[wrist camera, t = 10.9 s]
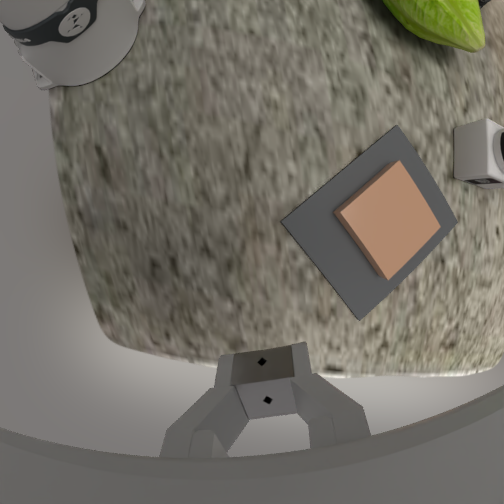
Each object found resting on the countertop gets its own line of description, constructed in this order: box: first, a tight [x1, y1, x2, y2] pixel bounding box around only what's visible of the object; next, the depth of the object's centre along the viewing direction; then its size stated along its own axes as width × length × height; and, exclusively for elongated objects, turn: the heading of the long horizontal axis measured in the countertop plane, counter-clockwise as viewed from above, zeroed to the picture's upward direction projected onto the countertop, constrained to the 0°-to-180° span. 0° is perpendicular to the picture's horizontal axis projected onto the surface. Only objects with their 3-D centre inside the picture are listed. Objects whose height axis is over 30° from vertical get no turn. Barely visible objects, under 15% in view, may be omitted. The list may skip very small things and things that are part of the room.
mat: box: [281, 125, 458, 321], centre depth 36 cm, size 16×20×1 cm
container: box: [454, 118, 504, 189], centre depth 30 cm, size 8×8×13 cm
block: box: [333, 160, 441, 280], centre depth 34 cm, size 10×3×10 cm
